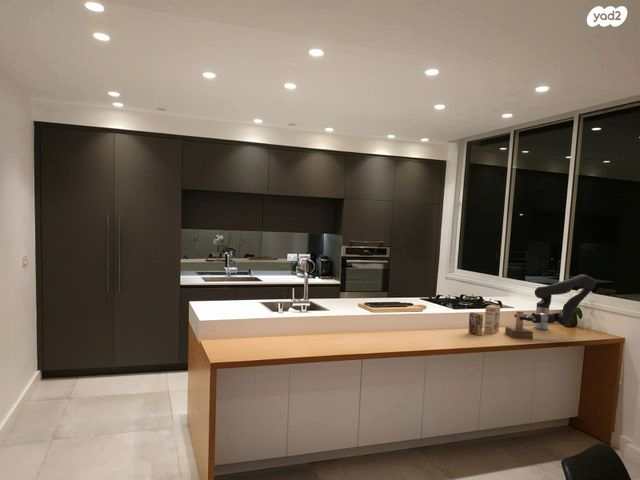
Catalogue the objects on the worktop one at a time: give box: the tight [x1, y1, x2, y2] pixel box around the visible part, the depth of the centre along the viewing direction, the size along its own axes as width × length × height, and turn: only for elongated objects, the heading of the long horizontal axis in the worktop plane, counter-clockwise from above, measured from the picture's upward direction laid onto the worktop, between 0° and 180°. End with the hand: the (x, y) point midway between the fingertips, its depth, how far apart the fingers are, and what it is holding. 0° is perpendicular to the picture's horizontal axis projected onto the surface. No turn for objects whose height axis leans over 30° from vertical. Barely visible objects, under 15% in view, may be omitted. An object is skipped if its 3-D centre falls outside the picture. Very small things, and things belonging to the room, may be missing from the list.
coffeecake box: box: [483, 304, 501, 335], centre depth 336 cm, size 15×7×20 cm, turn 143°
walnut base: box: [504, 326, 534, 340], centre depth 326 cm, size 14×14×5 cm
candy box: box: [467, 312, 484, 337], centre depth 325 cm, size 9×4×15 cm, turn 39°
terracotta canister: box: [515, 310, 525, 330], centre depth 326 cm, size 5×5×13 cm
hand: (517, 317), depth 326 cm, fingers open, 8 cm apart
